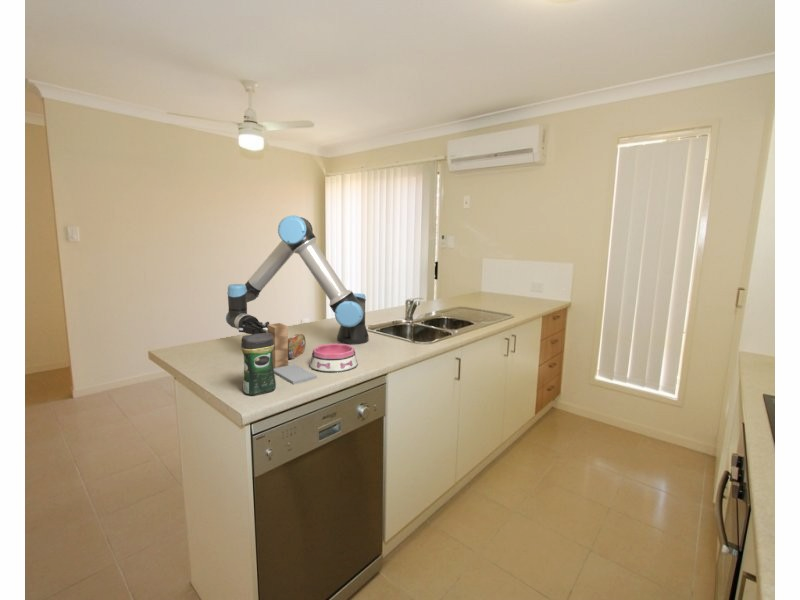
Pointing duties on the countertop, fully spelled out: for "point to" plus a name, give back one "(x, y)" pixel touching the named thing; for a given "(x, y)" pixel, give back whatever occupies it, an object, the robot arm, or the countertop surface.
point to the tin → (296, 345)
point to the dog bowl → (333, 358)
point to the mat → (294, 374)
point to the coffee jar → (258, 363)
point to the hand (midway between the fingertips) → (271, 334)
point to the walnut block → (279, 344)
